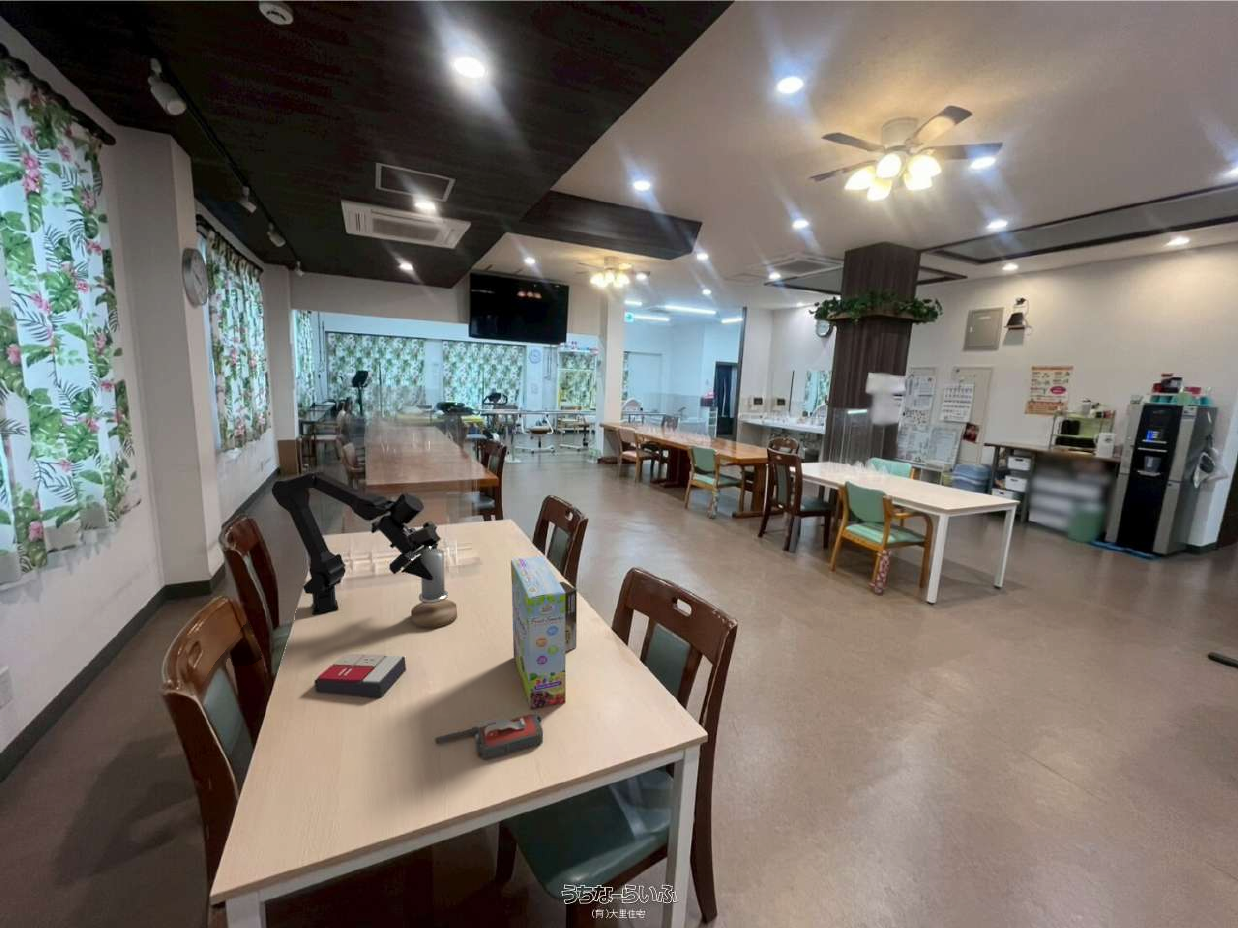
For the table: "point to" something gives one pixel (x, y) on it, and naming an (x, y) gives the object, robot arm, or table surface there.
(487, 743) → the walkie-talkie
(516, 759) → the table surface
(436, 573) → the grey cylinder
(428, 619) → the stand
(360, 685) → the calculator
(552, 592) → the snack box
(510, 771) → the table surface
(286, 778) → the table surface
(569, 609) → the coffee box
